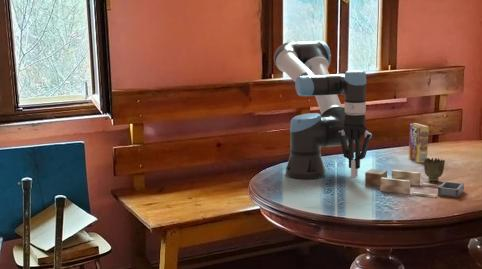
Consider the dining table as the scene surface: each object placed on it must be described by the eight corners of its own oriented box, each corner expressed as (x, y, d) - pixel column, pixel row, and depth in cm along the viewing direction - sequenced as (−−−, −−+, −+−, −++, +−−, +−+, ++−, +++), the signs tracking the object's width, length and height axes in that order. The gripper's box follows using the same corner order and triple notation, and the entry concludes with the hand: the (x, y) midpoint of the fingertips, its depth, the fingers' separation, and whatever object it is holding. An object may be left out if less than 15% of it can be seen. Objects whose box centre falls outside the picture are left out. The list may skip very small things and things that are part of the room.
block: (365, 186, 225) (365, 172, 224) (371, 182, 230) (371, 168, 229) (381, 188, 222) (381, 174, 221) (386, 184, 227) (387, 170, 226)
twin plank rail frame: (380, 190, 218) (380, 178, 217) (392, 181, 230) (393, 169, 229) (435, 197, 208) (436, 184, 208) (445, 187, 220) (446, 175, 219)
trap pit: (437, 195, 211) (438, 187, 210) (444, 189, 218) (444, 181, 218) (457, 198, 208) (458, 189, 207) (463, 191, 215) (463, 183, 215)
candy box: (428, 162, 258) (429, 126, 255) (418, 163, 257) (419, 126, 254) (417, 158, 266) (418, 122, 263) (408, 158, 265) (409, 123, 262)
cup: (441, 184, 224) (441, 163, 223) (420, 182, 228) (421, 160, 226) (446, 180, 230) (447, 158, 229) (426, 177, 234) (427, 156, 233)
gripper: (334, 113, 226) (333, 177, 230) (368, 116, 219) (367, 181, 223) (342, 111, 232) (341, 172, 236) (375, 113, 225) (374, 176, 230)
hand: (354, 176), depth 230 cm, fingers closed
